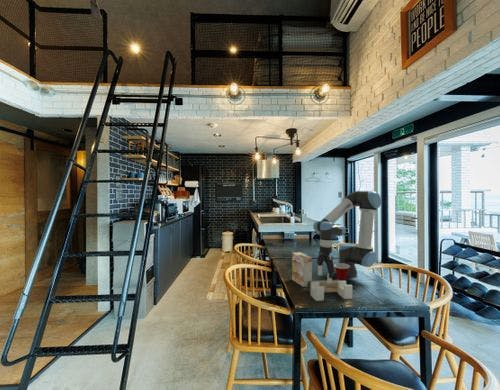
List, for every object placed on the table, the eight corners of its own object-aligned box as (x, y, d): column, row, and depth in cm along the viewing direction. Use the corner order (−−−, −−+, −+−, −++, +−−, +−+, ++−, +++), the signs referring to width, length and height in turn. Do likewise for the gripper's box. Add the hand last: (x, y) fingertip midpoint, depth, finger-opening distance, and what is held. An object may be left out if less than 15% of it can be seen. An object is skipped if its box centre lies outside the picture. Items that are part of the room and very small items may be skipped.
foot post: (337, 293, 155) (338, 280, 155) (345, 293, 156) (345, 280, 156) (344, 299, 147) (344, 285, 147) (352, 298, 148) (352, 285, 148)
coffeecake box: (291, 279, 178) (292, 252, 178) (300, 278, 181) (300, 251, 180) (303, 287, 164) (303, 258, 164) (312, 286, 167) (312, 257, 166)
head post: (310, 294, 152) (310, 282, 152) (318, 294, 153) (318, 281, 153) (315, 300, 145) (316, 287, 144) (323, 300, 145) (324, 286, 145)
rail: (307, 290, 159) (307, 281, 159) (339, 288, 162) (339, 279, 162) (309, 293, 155) (310, 283, 155) (342, 291, 158) (342, 282, 158)
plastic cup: (330, 279, 179) (330, 263, 179) (344, 278, 181) (344, 262, 181) (338, 285, 169) (338, 267, 168) (352, 284, 170) (353, 267, 170)
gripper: (312, 241, 170) (311, 272, 170) (329, 250, 145) (328, 286, 145) (322, 241, 171) (321, 272, 171) (341, 250, 146) (339, 286, 146)
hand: (324, 279), depth 158 cm, fingers open, 13 cm apart
